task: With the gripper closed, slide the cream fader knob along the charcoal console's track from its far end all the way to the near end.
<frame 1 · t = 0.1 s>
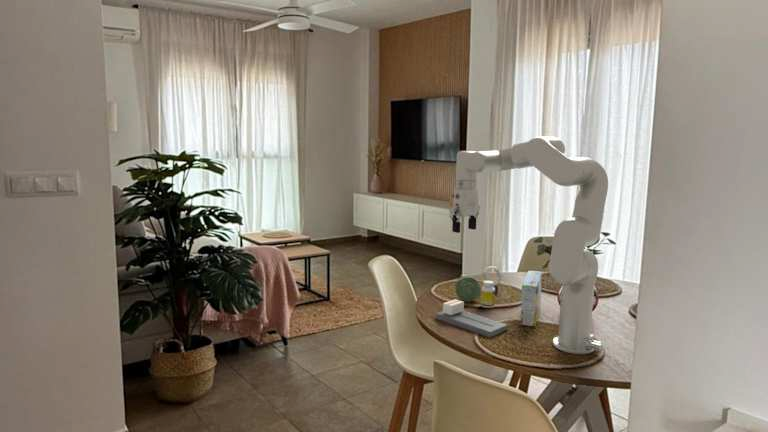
hand: (464, 230, 193), 31 cm above the table, tool pointing down, fingers open, 9 cm apart
fader console: (470, 324, 184), on the table
supplement bottle: (487, 306, 204), on the table
decorative artifact: (467, 302, 208), on the table
fader knob: (453, 307, 189), point 4 cm above the table, slide at 16.0 cm
snack box: (530, 317, 192), on the table
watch: (491, 292, 223), on the table
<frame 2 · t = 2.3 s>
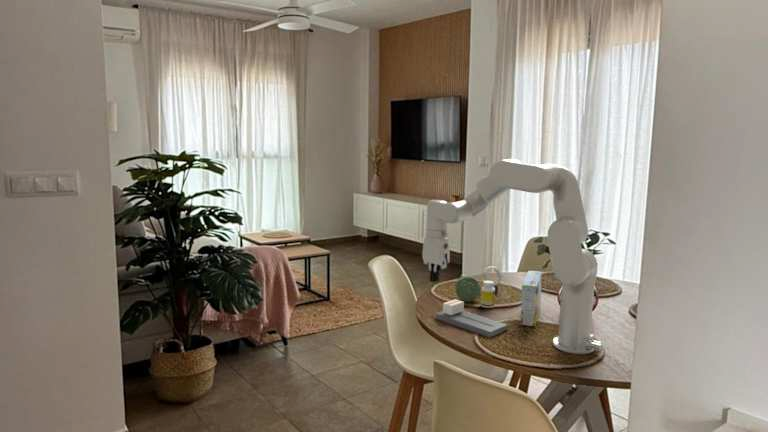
hand: (434, 281, 195), 12 cm above the table, tool pointing down, fingers closed
nothing on the table moved.
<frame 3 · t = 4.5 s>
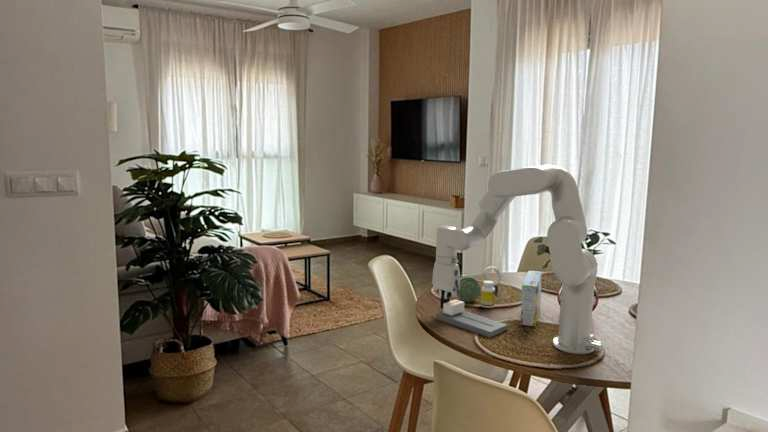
hand: (444, 307, 192), 3 cm above the table, tool pointing down, fingers closed
fader knob: (453, 307, 189), point 4 cm above the table, slide at 15.8 cm, touching gripper
everything else where it was.
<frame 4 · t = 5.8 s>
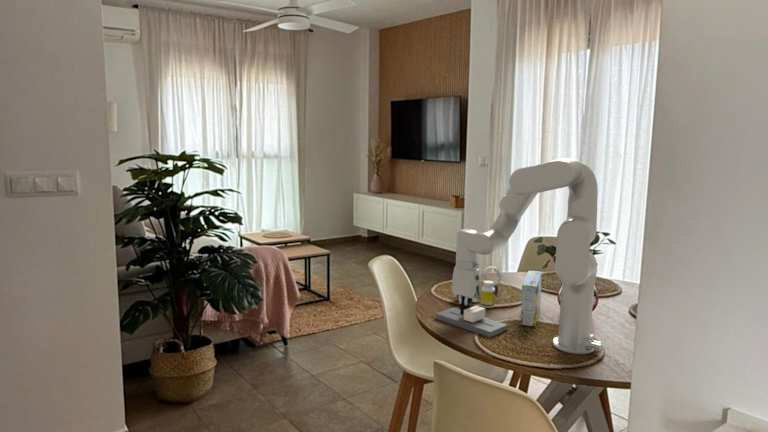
hand: (464, 314, 186), 3 cm above the table, tool pointing down, fingers closed
fader knob: (474, 313, 182), point 4 cm above the table, slide at 6.5 cm, touching gripper
everything else where it was.
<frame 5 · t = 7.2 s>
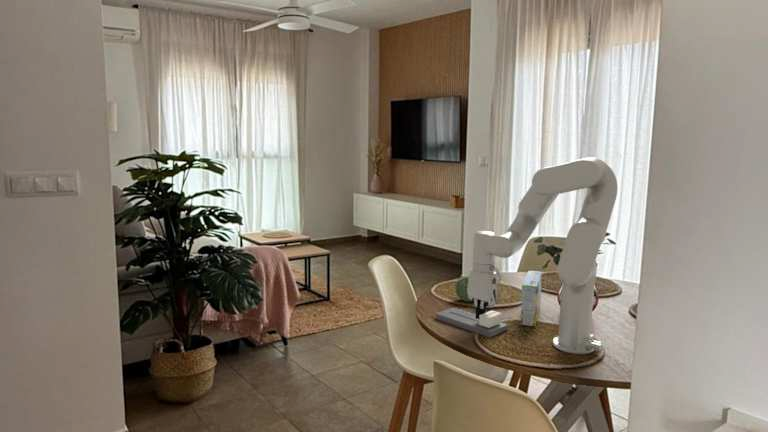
hand: (480, 318, 180), 3 cm above the table, tool pointing down, fingers closed
fader knob: (490, 318, 177), point 4 cm above the table, slide at -0.3 cm, touching gripper
everything else where it was.
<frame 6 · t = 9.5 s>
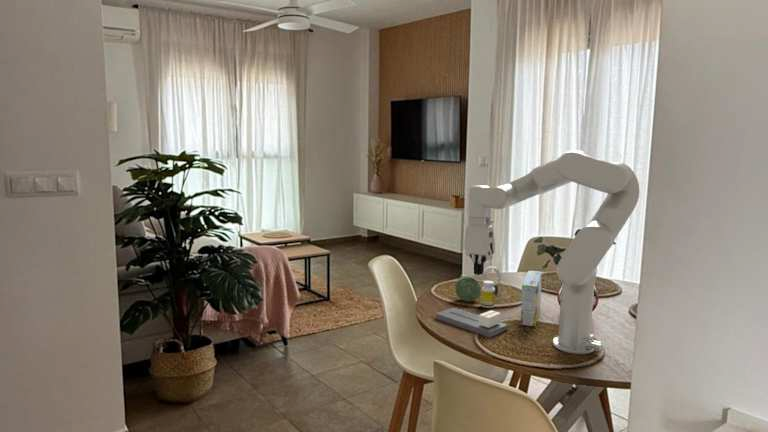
hand: (478, 273, 179), 19 cm above the table, tool pointing down, fingers closed
fader knob: (489, 318, 178), point 4 cm above the table, slide at -0.1 cm
everything else where it was.
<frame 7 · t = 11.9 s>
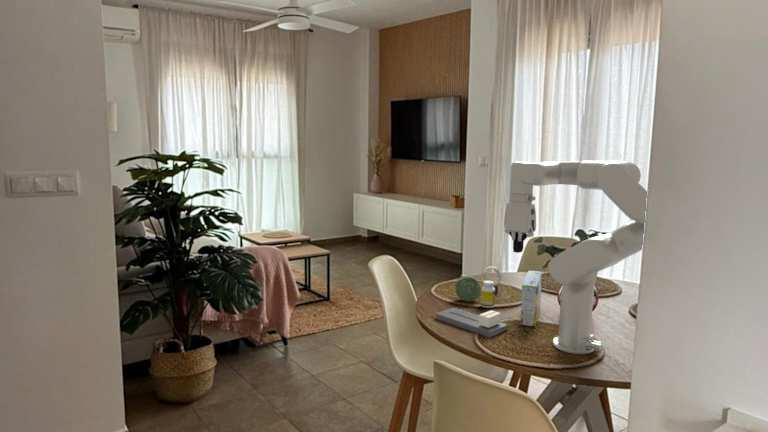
hand: (517, 251, 177), 27 cm above the table, tool pointing down, fingers closed
nothing on the table moved.
at the end: fader knob slide at -0.1 cm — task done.
